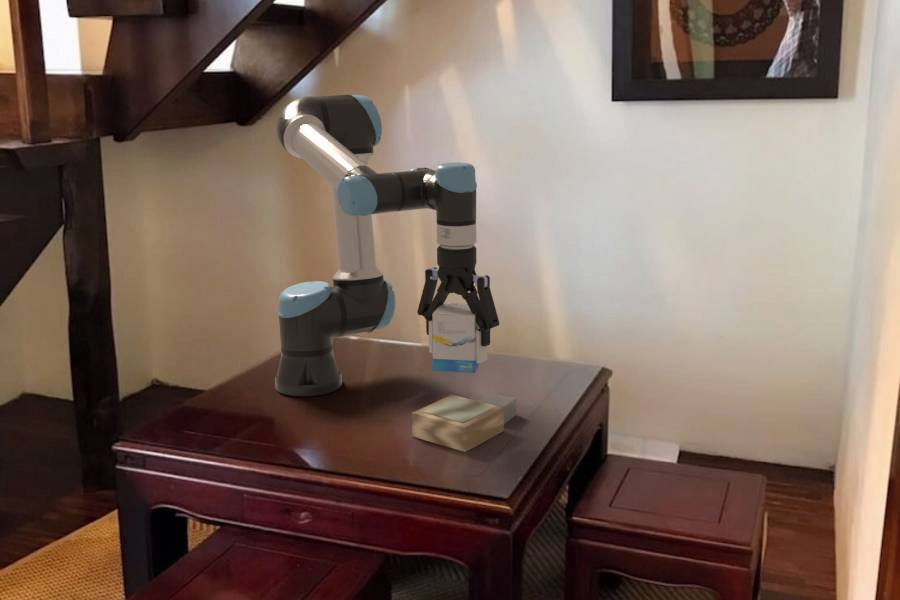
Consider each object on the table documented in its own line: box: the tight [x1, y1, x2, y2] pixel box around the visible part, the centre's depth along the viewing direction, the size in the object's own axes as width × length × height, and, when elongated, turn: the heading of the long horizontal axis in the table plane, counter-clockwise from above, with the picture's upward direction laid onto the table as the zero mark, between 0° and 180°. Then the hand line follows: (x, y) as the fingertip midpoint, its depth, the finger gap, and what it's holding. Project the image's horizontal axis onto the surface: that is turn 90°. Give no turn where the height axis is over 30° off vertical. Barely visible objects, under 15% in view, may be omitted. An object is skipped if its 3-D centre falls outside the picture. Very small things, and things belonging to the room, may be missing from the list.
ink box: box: [432, 302, 482, 374], centre depth 194 cm, size 9×8×12 cm
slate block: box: [479, 393, 517, 425], centre depth 207 cm, size 6×6×4 cm
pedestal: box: [411, 394, 505, 453], centre depth 198 cm, size 13×13×5 cm
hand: (457, 356), depth 195 cm, fingers closed on ink box, 11 cm apart
